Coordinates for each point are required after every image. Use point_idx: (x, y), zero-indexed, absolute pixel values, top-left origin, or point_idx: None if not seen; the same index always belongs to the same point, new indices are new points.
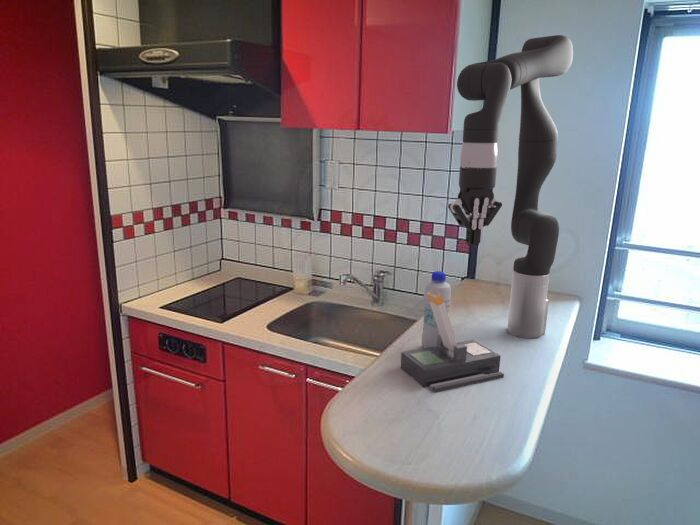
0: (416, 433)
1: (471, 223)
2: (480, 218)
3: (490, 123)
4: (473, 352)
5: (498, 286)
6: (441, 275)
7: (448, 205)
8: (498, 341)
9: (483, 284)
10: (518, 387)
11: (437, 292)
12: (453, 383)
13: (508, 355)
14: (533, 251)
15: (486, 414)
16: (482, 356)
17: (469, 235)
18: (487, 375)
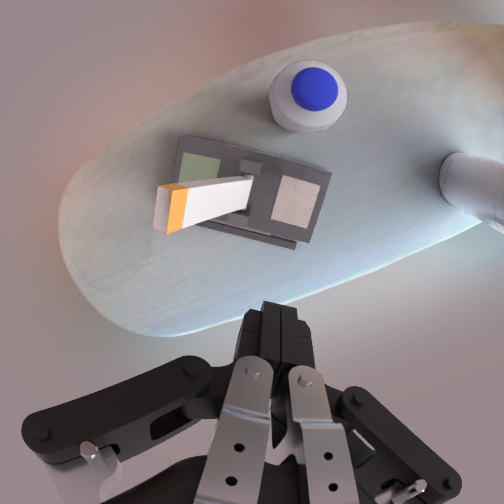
0: (114, 264)
1: (217, 420)
2: (269, 458)
3: None
4: (281, 211)
5: None
6: (307, 105)
7: (22, 427)
8: (405, 168)
9: None
10: (285, 274)
11: (167, 215)
12: (209, 225)
13: (369, 208)
14: None
15: (196, 285)
16: (282, 227)
17: (234, 357)
18: (271, 238)
